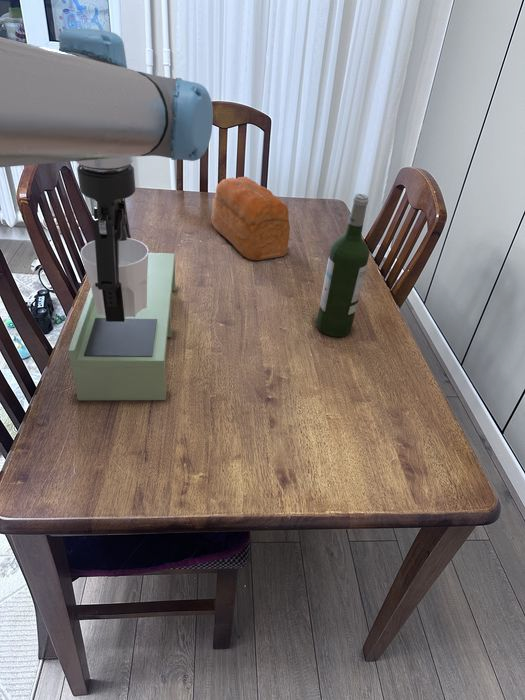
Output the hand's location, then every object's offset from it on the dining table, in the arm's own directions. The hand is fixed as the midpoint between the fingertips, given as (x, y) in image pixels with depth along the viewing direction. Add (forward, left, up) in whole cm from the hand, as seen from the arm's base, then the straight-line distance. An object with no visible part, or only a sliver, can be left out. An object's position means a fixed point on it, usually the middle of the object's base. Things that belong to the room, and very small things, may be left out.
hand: (120, 301), depth 80 cm
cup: (0, 0, -1) cm, 1 cm away
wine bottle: (+42, -19, -17) cm, 49 cm away
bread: (+63, +23, -17) cm, 69 cm away
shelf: (+9, +9, -16) cm, 21 cm away
